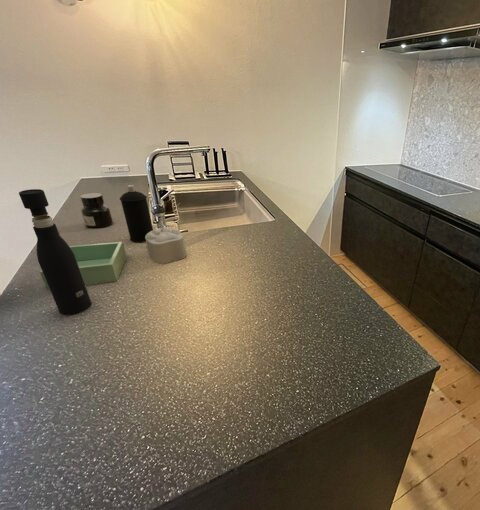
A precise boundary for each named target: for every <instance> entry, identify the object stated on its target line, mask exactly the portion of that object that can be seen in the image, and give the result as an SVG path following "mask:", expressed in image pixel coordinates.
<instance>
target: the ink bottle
mask: <svg viewBox="0 0 480 510" xmlns="http://www.w3.org/2000/svg"><path fill="white" fill-rule="evenodd" d="M79 199H80V202H81V204H82V206H83V208H81V211H80V212H81V216H82V218H83V221H84V224H85V227H86V228H89V229H101V228H105V227H108V226H109V227H110V226H111V225H112V224H113V223H114V221H113V217H112V214H111V211H110V208H109V206H107V205H106V204H105V200H104V197H103V194H102V193H99V192H98V193H97V192H92V193H91V192H90V193H85V194H84V193H83V194H81V195H80V196H79Z"/></svg>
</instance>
